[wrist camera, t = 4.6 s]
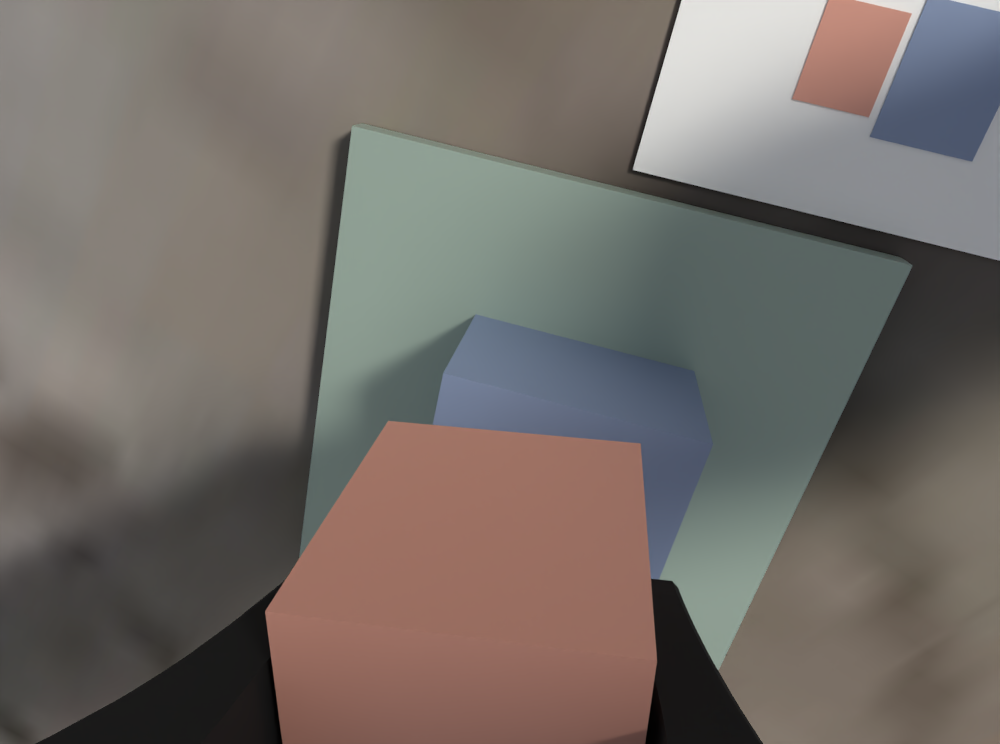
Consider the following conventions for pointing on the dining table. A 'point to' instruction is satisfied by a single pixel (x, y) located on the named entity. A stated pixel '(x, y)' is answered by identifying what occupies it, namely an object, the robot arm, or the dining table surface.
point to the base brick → (585, 408)
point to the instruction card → (839, 112)
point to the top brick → (472, 596)
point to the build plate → (599, 329)
